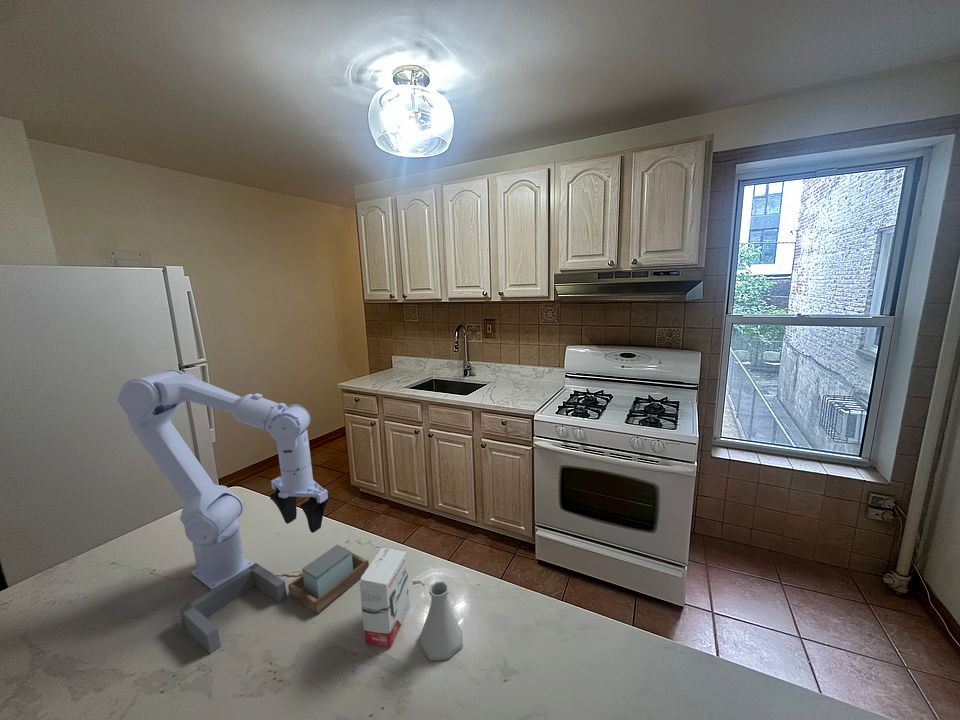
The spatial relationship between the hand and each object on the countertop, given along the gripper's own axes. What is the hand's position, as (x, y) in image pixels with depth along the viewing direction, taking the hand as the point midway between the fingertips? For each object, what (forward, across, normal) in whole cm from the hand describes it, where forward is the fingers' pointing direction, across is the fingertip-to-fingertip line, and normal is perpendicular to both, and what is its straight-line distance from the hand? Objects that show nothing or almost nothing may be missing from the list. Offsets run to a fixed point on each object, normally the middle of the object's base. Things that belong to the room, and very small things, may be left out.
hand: (303, 525), depth 78 cm
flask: (+10, +36, -4) cm, 37 cm away
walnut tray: (+9, +9, -2) cm, 13 cm away
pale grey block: (+9, +9, -2) cm, 13 cm away
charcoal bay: (+9, -2, -14) cm, 17 cm away
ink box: (+10, +26, -4) cm, 28 cm away
